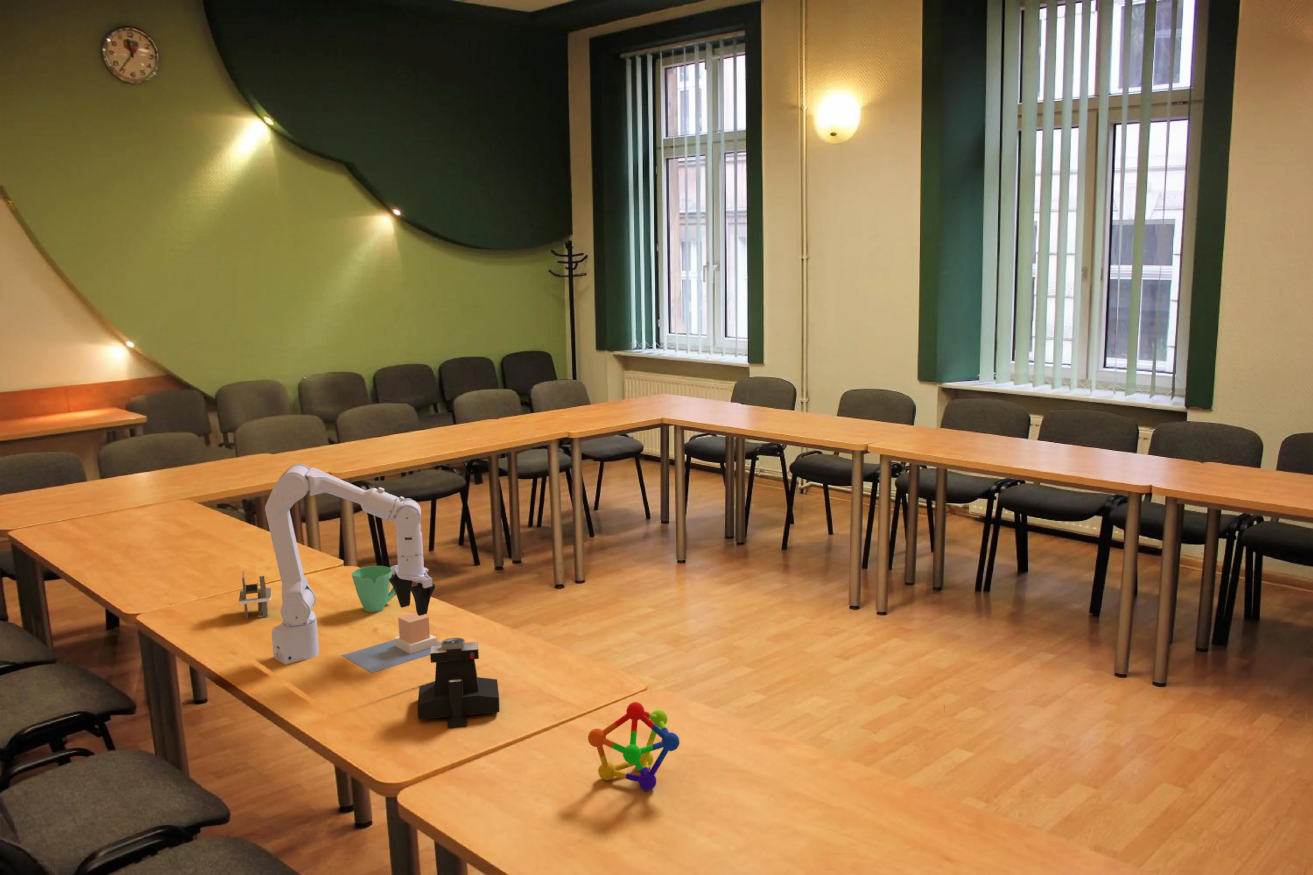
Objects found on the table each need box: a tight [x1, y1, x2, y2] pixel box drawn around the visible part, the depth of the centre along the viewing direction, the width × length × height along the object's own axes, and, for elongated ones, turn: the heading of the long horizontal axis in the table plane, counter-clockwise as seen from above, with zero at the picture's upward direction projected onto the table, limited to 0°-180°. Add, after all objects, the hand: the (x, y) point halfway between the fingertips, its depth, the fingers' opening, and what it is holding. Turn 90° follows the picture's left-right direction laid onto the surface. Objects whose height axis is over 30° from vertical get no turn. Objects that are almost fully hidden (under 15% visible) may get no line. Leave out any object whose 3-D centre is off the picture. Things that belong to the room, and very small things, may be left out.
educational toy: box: [587, 701, 680, 792], centre depth 189 cm, size 16×13×15 cm
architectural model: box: [238, 570, 272, 620], centre depth 276 cm, size 19×17×11 cm
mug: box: [351, 565, 397, 613], centre depth 280 cm, size 15×10×10 cm
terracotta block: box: [397, 611, 431, 643], centre depth 250 cm, size 5×5×5 cm
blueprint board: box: [341, 634, 441, 674], centre depth 248 cm, size 20×14×3 cm
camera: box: [417, 637, 500, 728], centre depth 218 cm, size 16×14×15 cm
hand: (413, 610), depth 250 cm, fingers open, 7 cm apart
